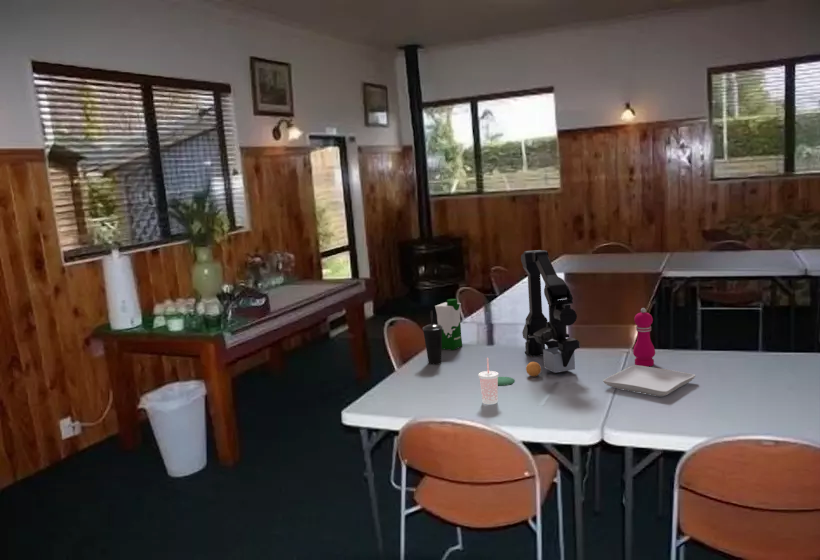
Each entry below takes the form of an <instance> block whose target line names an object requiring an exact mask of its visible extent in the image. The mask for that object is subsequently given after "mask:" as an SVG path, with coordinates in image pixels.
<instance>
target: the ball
mask: <svg viewBox="0 0 820 560" xmlns="http://www.w3.org/2000/svg"><path fill="white" fill-rule="evenodd" d="M525 370H526V373H527V375H528V376H530V377H537V376H539V375H540V374H541V372H542V366H541V364H540V363H539V362H538V361H537V362H536V361H530V362H529V363H528V364H527V365H526V366H525Z"/></svg>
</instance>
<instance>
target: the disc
mask: <svg viewBox="0 0 820 560" xmlns="http://www.w3.org/2000/svg"><path fill="white" fill-rule="evenodd" d="M515 382H516V381H515V378H513V377H509V376H498V387H499V386H500V387H502V386H509V385H512V384H514V383H515Z"/></svg>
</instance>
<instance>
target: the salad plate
mask: <svg viewBox="0 0 820 560" xmlns="http://www.w3.org/2000/svg"><path fill="white" fill-rule="evenodd" d="M695 377H696V374H694V373H689V372H683V371H678V370H673V369H665V368H659V367H652V366H650V367H646V366H639V365H635V364H633V365H630V366H629V367H626V368H625V369H623V370H620V371H618V372H617V373H614V374H612V375H610V376H608V377H606V378H604V379H603V380H602V381H603V383H604V384H605V385H606V386H608V387H611V388H614V389H618V390H621V389H624V390H623V391H626V390H629V391H628V392H631V391H635V392H634V393H636V392H641V393H640V394H642V393H646V394H645V395H647V394H651V395H650V396H653V395H656V396H655V397H665V396H667V395H668V394H671V393H673V392H674V391H675V390H677V389H679V388H681V387H683V386H685V385H687V384H688V383H690V382H692V381H693V380H694V379H695Z"/></svg>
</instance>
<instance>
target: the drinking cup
mask: <svg viewBox="0 0 820 560" xmlns="http://www.w3.org/2000/svg"><path fill="white" fill-rule="evenodd" d="M430 321H431V323H430V324H427V325H425V326H423V327H422V331H423V337H424V344H425V349H426V356H427V360H428V364H429V365H439V363H440V364H442V352H443V351H442V350H443V349H442V329H443V327H442V326H440V325H438V323H437V324H436V323H434V316H433V310H430Z"/></svg>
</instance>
